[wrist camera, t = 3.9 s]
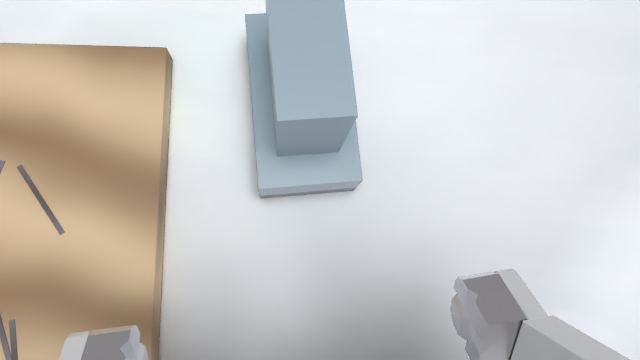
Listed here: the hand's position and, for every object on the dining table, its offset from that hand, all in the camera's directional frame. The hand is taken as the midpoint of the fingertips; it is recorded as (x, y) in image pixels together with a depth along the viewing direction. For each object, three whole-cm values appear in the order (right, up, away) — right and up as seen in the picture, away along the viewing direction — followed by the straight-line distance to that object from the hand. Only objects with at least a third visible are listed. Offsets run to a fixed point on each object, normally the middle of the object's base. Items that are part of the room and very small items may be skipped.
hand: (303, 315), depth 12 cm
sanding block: (-1, +7, +14) cm, 16 cm away
